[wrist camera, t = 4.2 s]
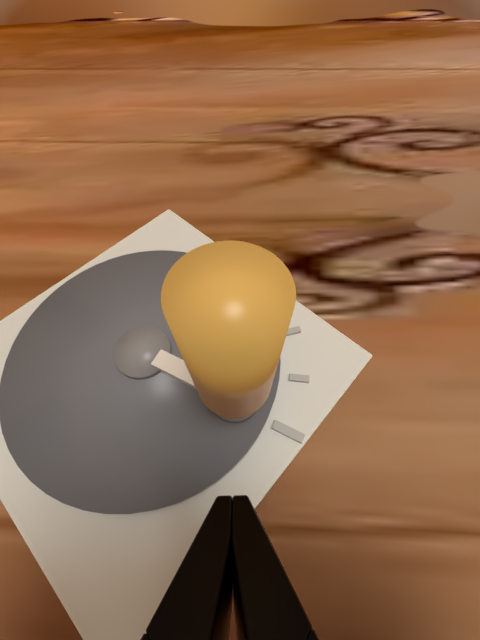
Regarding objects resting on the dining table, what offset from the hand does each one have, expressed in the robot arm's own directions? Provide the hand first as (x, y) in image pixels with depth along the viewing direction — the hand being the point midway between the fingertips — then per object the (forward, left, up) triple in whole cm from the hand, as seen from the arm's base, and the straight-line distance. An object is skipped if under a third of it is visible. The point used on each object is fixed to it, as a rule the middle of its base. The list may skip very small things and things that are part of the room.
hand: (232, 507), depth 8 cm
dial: (+2, +9, -9) cm, 13 cm away
